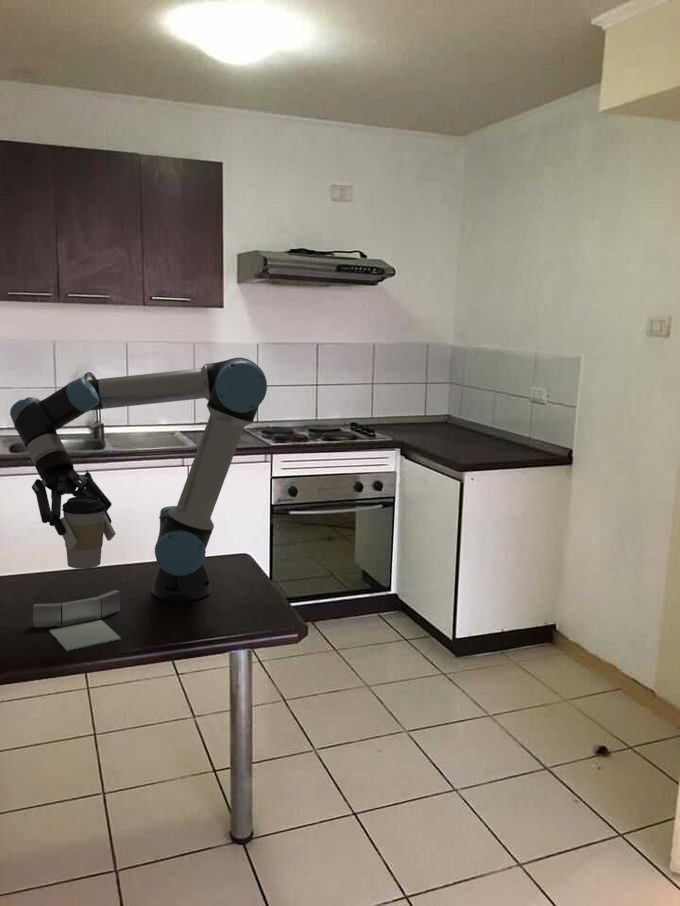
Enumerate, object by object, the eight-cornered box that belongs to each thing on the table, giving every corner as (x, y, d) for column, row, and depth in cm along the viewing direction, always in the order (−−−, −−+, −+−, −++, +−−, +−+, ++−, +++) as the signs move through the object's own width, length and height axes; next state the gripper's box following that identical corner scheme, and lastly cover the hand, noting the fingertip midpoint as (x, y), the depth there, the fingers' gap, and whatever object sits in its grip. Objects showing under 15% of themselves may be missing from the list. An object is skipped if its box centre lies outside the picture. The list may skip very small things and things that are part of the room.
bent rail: (117, 608, 189) (117, 589, 188) (124, 614, 186) (124, 594, 185) (31, 625, 176) (31, 604, 176) (36, 631, 173) (36, 610, 172)
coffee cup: (69, 556, 174) (68, 492, 171) (109, 558, 174) (109, 493, 172) (57, 569, 165) (56, 501, 162) (100, 571, 165) (100, 503, 163)
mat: (101, 621, 181) (101, 619, 181) (120, 639, 171) (120, 637, 171) (49, 631, 173) (49, 630, 173) (66, 651, 164) (66, 649, 164)
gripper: (85, 463, 184) (126, 541, 177) (-2, 474, 167) (40, 561, 160) (98, 444, 180) (141, 523, 173) (11, 453, 163) (54, 542, 156)
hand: (92, 541), depth 167 cm, fingers closed on coffee cup, 9 cm apart
